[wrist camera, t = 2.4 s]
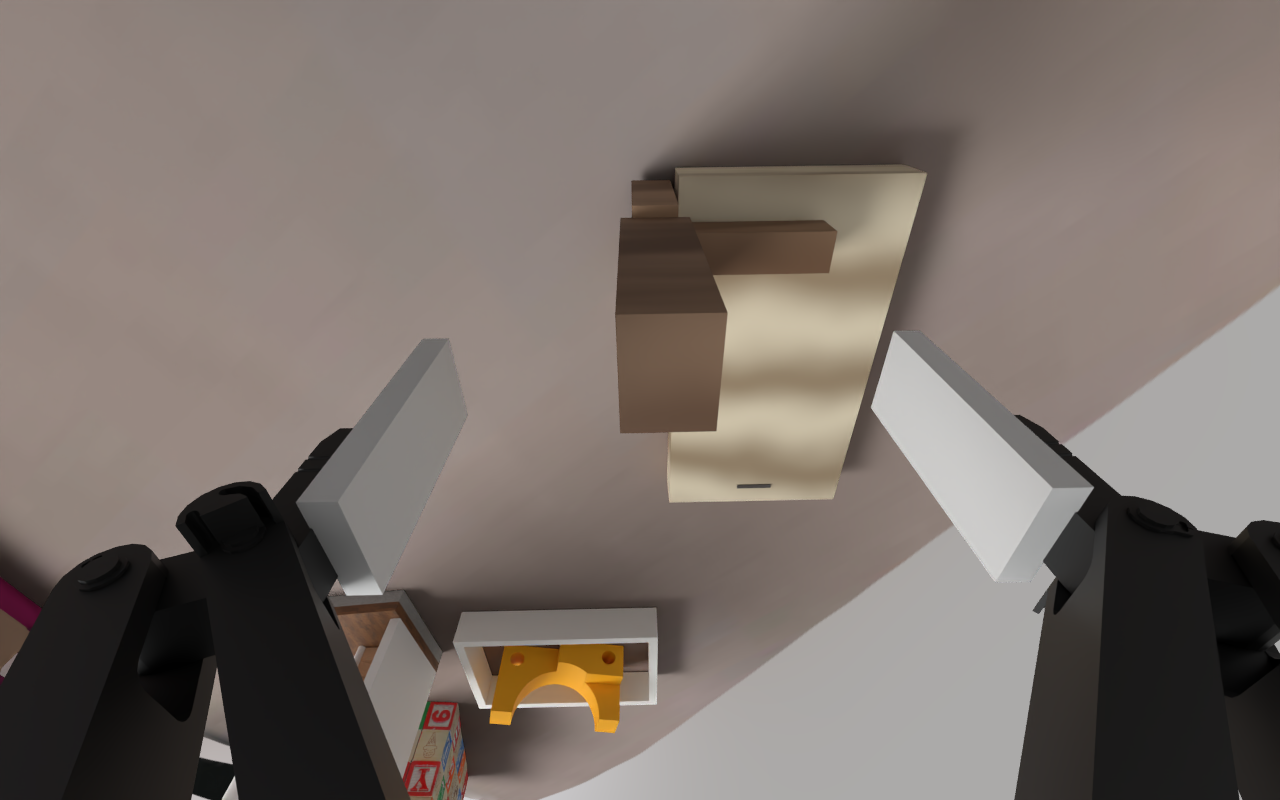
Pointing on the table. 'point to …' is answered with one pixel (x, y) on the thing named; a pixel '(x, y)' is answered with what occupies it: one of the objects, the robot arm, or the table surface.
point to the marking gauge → (690, 302)
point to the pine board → (794, 329)
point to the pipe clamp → (562, 678)
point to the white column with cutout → (388, 664)
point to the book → (14, 621)
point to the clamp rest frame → (557, 631)
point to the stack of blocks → (437, 756)
